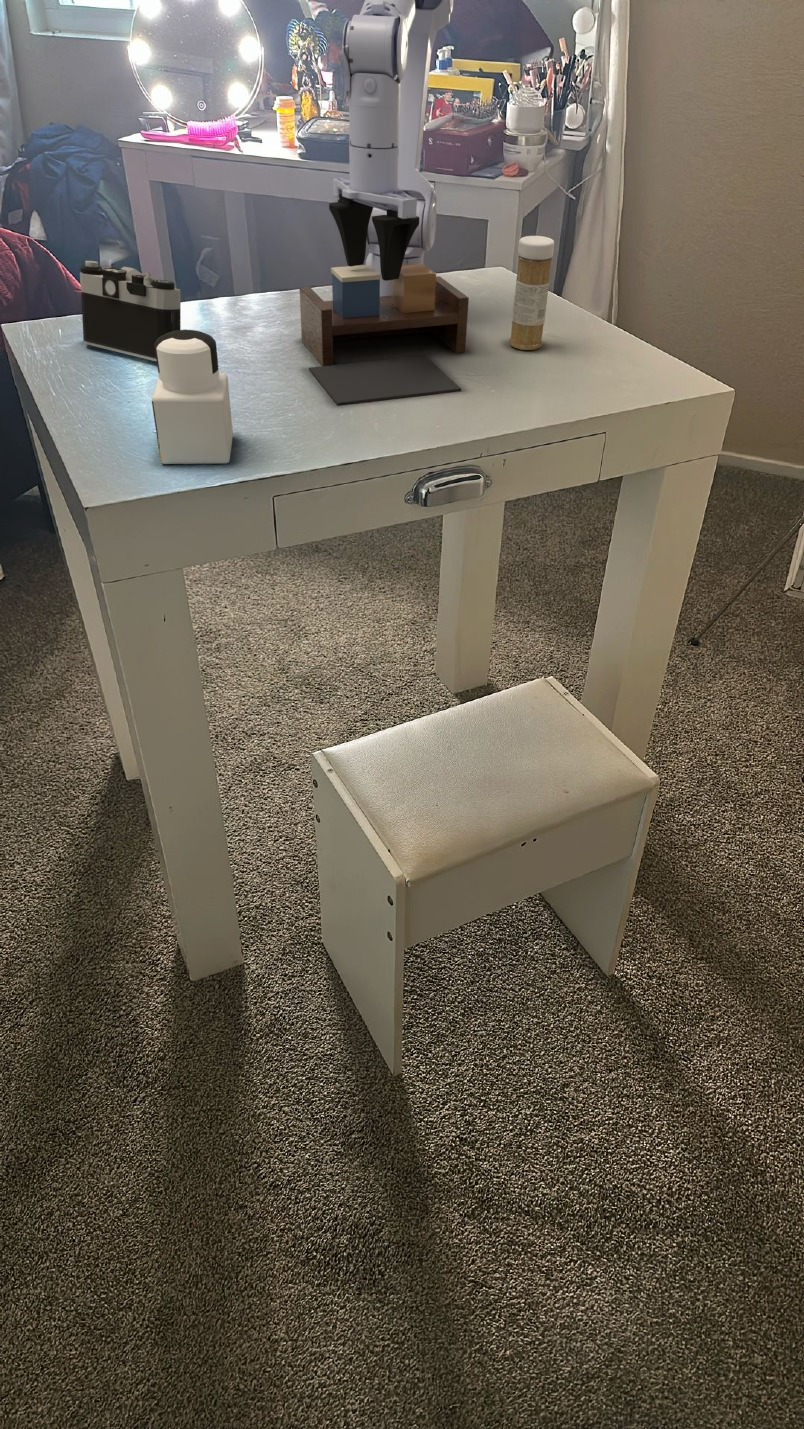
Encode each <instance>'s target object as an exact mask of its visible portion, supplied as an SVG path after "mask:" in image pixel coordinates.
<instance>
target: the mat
mask: <svg viewBox="0 0 804 1429" xmlns="http://www.w3.org/2000/svg"><path fill="white" fill-rule="evenodd" d="M308 371H309V372H310V373H311V375H312V376H313V377H314V378H315V379H316V381H317V383H319V384H320V386H321V387H322V388H323V389H324V391H325V392H326V393H327V394H328V396H329V397H330V398H331V399H332V401H333V402H334V403H335V404H336V406H343V405H351V404H352V405H353V404H360V403H367V402H368V403H369V402H377V401H386V400H392V399H401V398H411V397H419V396H428V395H429V396H430V395H435V394H436V395H437V394H445V393H455V392H461V391H462V388H461V387H460V386H459V385H458V384H457V383H456V382H455V381H453V380H452V378H451V377H450V376H449V375H447V374H446V373H445V372H444V371H443V370H442V369H441V368H439V367H438V366H437V365H436V363H434V362H433V361H432V360H431V359H430V358H429V357H428V356H427V355H418V356H416V355H415V356H409V357H398V358H390V359H389V358H388V359H380V360H369V361H361V362H349V363H342V364H333V365H330V366H322V365H320V366H311V367H308Z"/></svg>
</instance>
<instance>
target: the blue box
mask: <svg viewBox="0 0 804 1429" xmlns="http://www.w3.org/2000/svg"><path fill="white" fill-rule="evenodd" d="M330 273H331V278H332V279H331V287H332V292H331V293H332V301H333V309H334V310H335V311H336V312H337V313H338V314H339V315H340V316H341V317H342V318H343V319H345V318H356V317H368V316H379V315H380V279H381V274H379V273H378V272H377V271H376V270H375V269H373V268H372V267H371V266H370V265H366V264H363V265H357V266H351V267H350V266H348V265H347V266H336V267H335V266H334V267H330Z"/></svg>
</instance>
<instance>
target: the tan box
mask: <svg viewBox="0 0 804 1429" xmlns="http://www.w3.org/2000/svg"><path fill="white" fill-rule="evenodd" d="M436 277H437V273H436V272H435V271H434V270H432V269H431V268H430V267H428V266H427V265H426V264H424V263H423V264H421V265H408V266H402V268H401V272H400V275H399V279H395V280H393V282H392V304H394V305H395V306H396V307H397V308H398V309H399V310H400V311H402V312H403V313H412V312H423V311H434V309H435V289H436Z"/></svg>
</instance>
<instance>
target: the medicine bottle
mask: <svg viewBox="0 0 804 1429" xmlns="http://www.w3.org/2000/svg"><path fill="white" fill-rule="evenodd" d="M154 346H155V353H156V360H157V361H156V367H157V373H158V377H157V380H156V384H155V386H154V390H153V393H152V396H151V406H152V412H153V419H154V420H153V421H154V427H155V433H156V441H157V447H158V452H159V460H160V463H161V464H163V465H202V464H203V465H205V464H209V465H212V464H214V465H215V464H216V465H217V464H221V465H222V464H228V463H229V462H230V460H231V454H232V453H231V452H232V444H233V439H234V438H233V437H234V431H233V421H232V409H231V399H230V398H231V397H230V387H229V378H228V374H227V372H220V370H219V369H220V368H219V359H218V358H219V357H218V348H217V342H216V340H215V338H214V337H213V336H212V335H210V334H208V333H205V332H203V331H199V330H195V329H181V330H177V331H172V332H168V333H166V334H164V335H162V336H160V337H159V338H158V339H157V340H156V342H155V344H154Z"/></svg>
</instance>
